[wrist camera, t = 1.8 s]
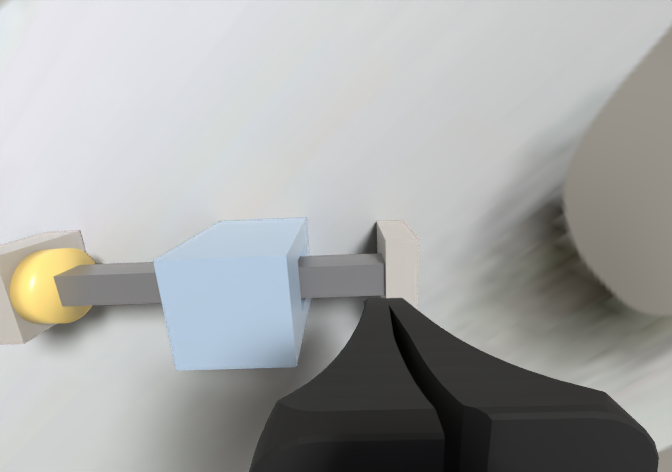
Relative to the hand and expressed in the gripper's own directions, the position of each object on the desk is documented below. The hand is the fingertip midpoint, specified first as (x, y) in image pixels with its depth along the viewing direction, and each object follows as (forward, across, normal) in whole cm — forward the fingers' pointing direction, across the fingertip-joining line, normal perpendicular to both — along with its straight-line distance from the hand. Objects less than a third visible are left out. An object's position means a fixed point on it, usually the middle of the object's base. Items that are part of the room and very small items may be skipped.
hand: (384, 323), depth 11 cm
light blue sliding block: (+8, +6, 0) cm, 10 cm away
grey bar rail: (+8, +9, 0) cm, 12 cm away
